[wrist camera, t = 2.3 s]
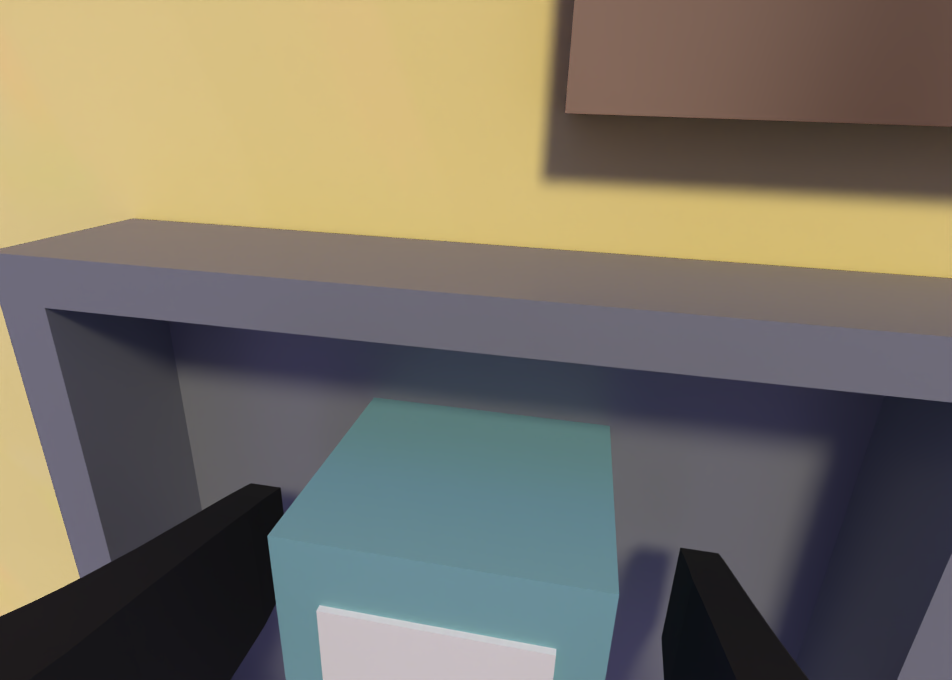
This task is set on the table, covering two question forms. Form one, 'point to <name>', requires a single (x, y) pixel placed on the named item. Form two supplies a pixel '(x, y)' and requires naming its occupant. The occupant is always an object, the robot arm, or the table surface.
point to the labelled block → (451, 550)
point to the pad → (764, 60)
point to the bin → (520, 406)
